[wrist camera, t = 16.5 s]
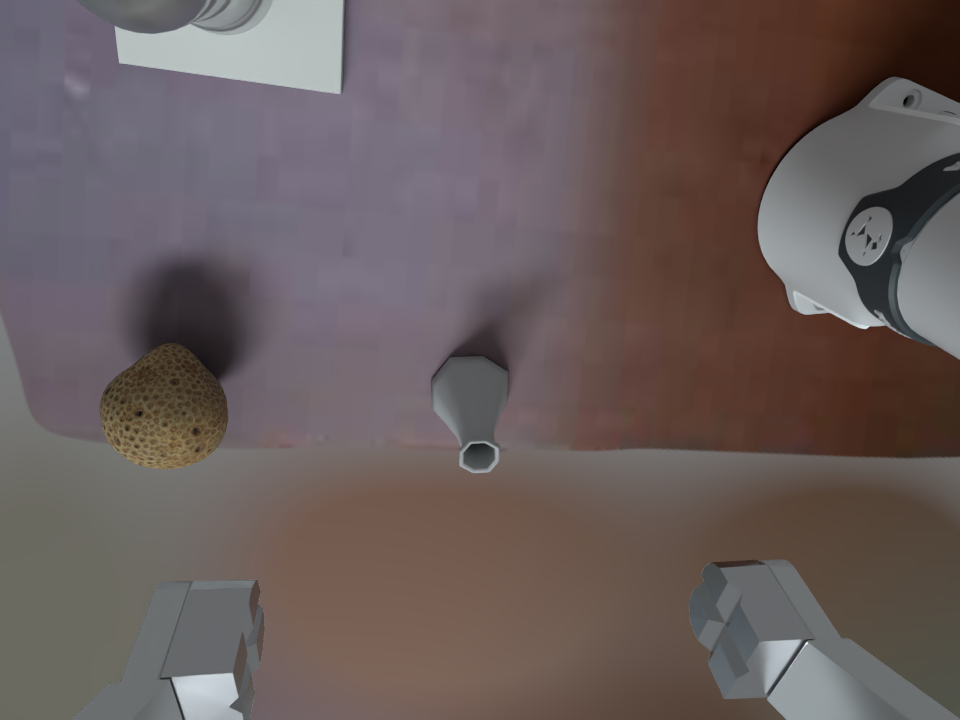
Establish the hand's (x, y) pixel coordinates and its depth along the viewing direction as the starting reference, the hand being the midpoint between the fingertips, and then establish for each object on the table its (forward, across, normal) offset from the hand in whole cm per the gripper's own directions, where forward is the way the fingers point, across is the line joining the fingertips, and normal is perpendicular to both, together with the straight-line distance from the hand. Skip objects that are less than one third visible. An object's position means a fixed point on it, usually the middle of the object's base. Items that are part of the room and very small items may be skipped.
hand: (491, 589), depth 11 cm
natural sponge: (+38, -18, -22) cm, 47 cm away
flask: (+37, +6, -22) cm, 43 cm away
